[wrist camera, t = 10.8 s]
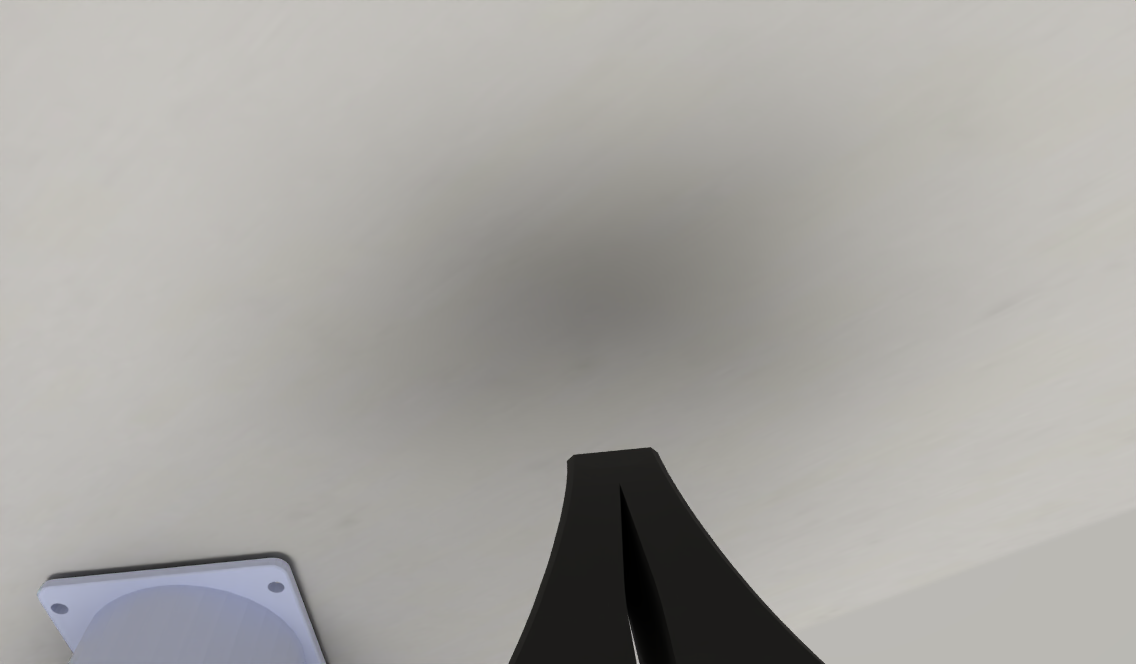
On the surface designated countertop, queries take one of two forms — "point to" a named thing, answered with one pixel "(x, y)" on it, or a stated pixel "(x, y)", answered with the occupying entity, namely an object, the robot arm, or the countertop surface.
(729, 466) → the countertop surface
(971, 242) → the countertop surface
